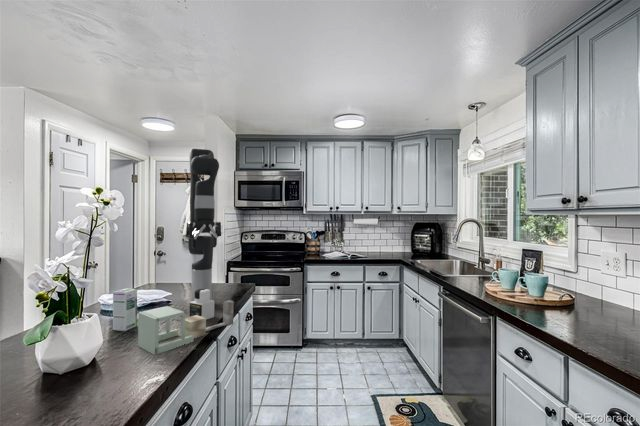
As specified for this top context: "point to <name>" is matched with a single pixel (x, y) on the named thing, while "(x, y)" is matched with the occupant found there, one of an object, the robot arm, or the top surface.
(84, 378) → the top surface
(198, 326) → the towed block
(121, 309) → the syrup box
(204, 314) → the medicine bottle
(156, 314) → the green windowed box
